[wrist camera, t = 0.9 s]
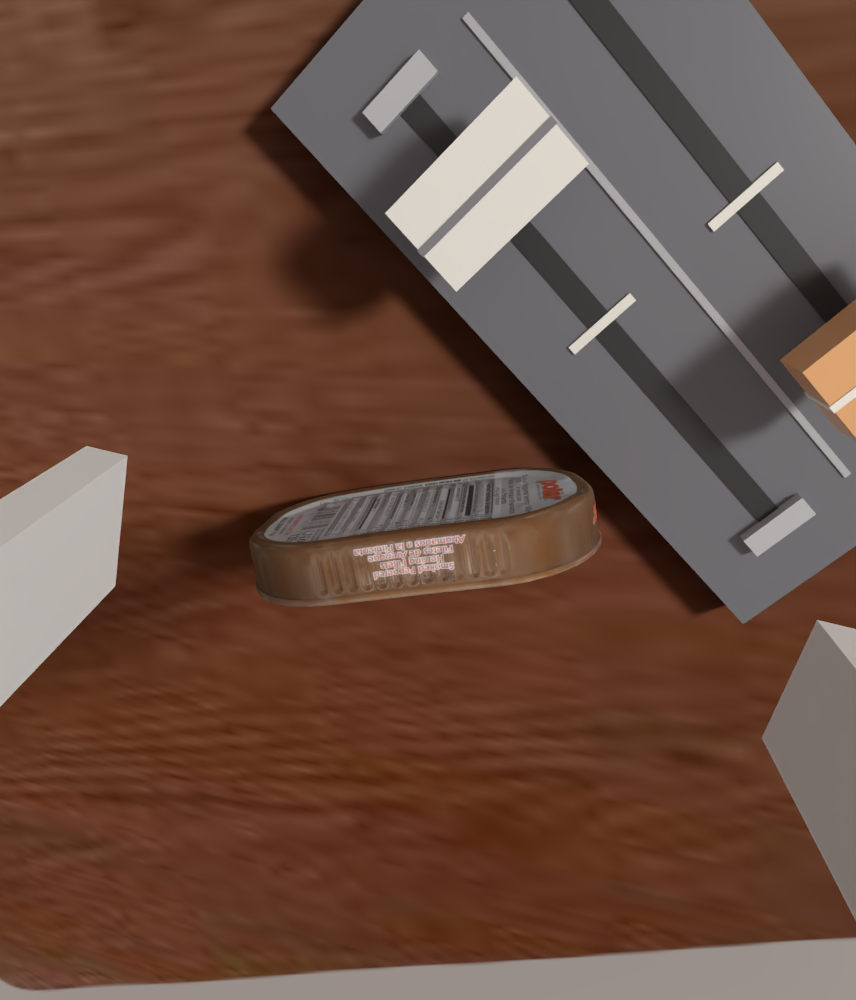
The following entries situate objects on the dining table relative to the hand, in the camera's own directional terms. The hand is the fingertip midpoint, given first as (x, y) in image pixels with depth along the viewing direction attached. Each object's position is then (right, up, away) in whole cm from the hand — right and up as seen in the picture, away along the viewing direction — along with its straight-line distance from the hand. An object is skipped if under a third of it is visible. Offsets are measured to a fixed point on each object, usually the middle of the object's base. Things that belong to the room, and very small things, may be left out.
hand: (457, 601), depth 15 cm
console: (+9, +12, +18) cm, 24 cm away
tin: (-1, +2, +23) cm, 23 cm away
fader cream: (+2, +14, +16) cm, 21 cm away
